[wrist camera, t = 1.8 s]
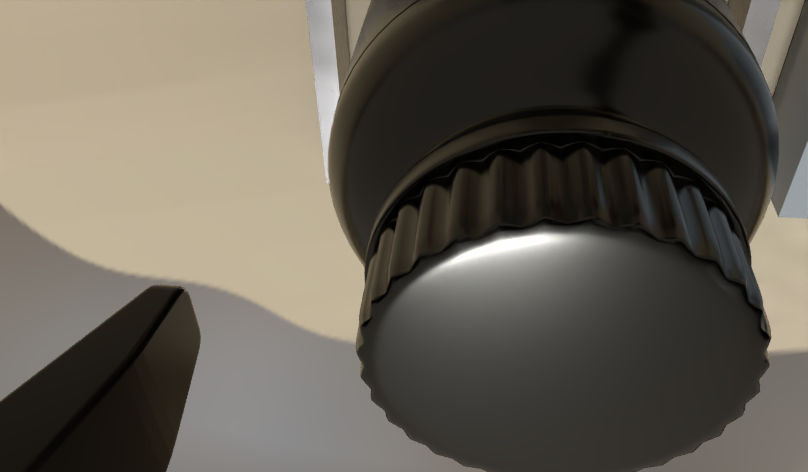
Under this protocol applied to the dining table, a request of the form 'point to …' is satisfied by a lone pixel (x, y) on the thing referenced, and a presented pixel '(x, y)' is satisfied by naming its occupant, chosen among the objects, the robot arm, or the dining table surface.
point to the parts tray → (793, 127)
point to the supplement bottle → (556, 225)
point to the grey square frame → (330, 55)
